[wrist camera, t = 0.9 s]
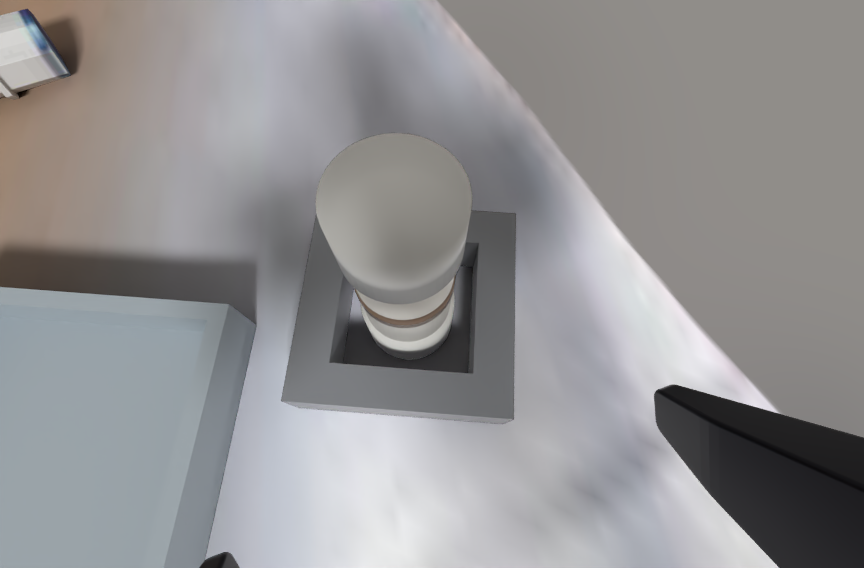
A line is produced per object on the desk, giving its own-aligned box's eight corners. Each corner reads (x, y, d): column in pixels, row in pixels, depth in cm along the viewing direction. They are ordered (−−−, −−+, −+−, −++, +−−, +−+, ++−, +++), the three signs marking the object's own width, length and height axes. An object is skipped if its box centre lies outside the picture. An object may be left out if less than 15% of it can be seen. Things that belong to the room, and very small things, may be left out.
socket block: (502, 424, 22) (513, 419, 19) (299, 407, 22) (281, 400, 19) (506, 240, 26) (515, 213, 23) (330, 227, 26) (319, 199, 23)
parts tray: (156, 778, 17) (92, 853, 14) (-199, 744, 18) (-342, 810, 14) (256, 325, 24) (229, 304, 20) (-5, 305, 24) (-74, 281, 21)
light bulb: (449, 362, 23) (468, 274, 12) (363, 356, 23) (303, 262, 12) (453, 282, 25) (475, 137, 13) (373, 276, 25) (328, 128, 14)
